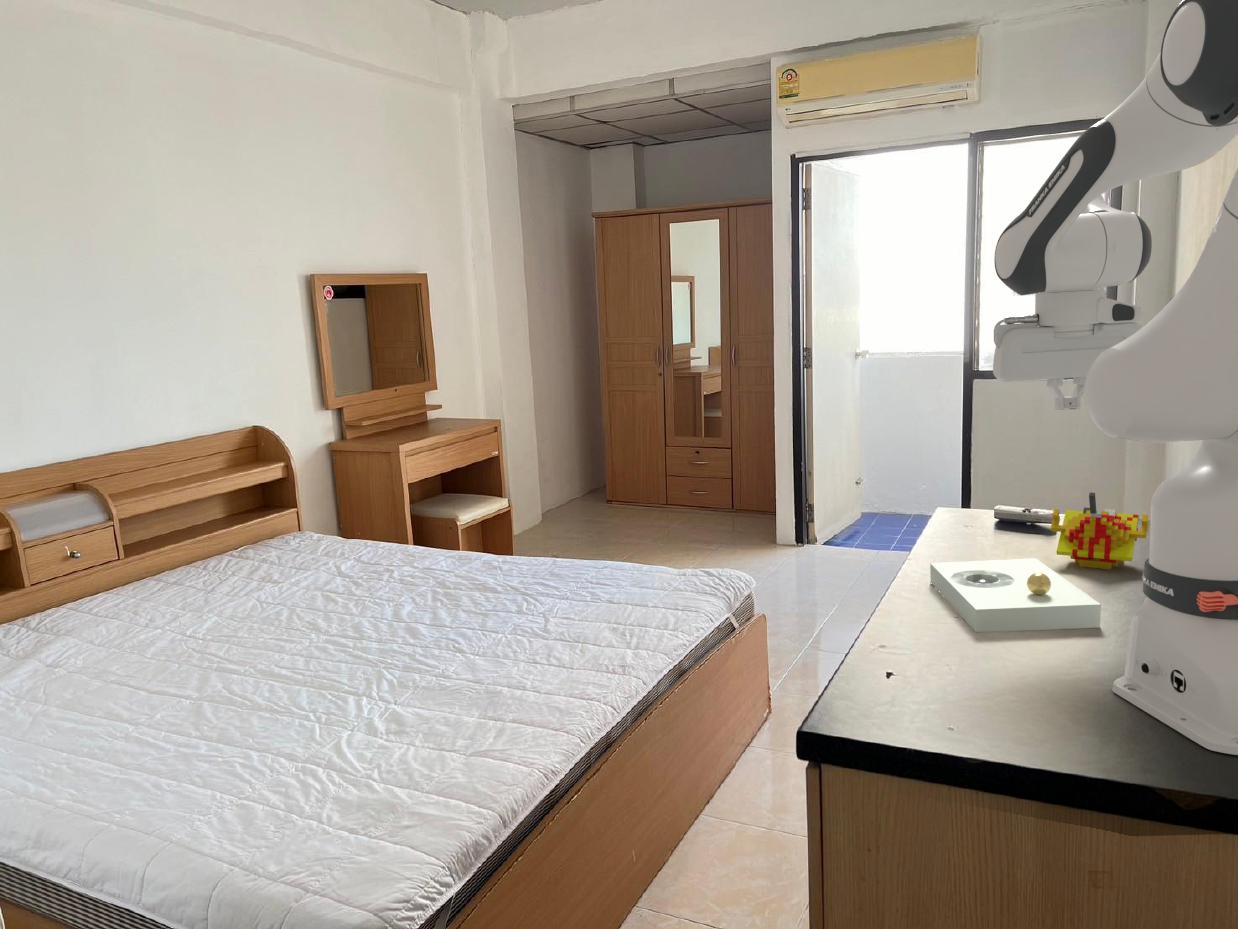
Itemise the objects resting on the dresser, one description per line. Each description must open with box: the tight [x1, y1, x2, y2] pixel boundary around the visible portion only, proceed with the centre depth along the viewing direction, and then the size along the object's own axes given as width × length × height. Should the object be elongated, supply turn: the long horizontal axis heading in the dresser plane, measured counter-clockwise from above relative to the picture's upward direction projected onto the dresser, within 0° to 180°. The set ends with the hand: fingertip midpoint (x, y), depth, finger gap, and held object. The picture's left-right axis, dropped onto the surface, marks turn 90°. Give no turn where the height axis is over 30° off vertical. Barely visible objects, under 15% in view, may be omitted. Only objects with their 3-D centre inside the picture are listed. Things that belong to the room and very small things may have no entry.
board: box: [929, 557, 1102, 634], centre depth 131 cm, size 22×16×3 cm
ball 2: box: [1027, 573, 1051, 595], centre depth 124 cm, size 3×3×3 cm
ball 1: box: [975, 579, 990, 584], centre depth 133 cm, size 3×3×3 cm
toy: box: [1050, 492, 1150, 570], centre depth 144 cm, size 14×10×15 cm
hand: (1067, 409), depth 130 cm, fingers closed
